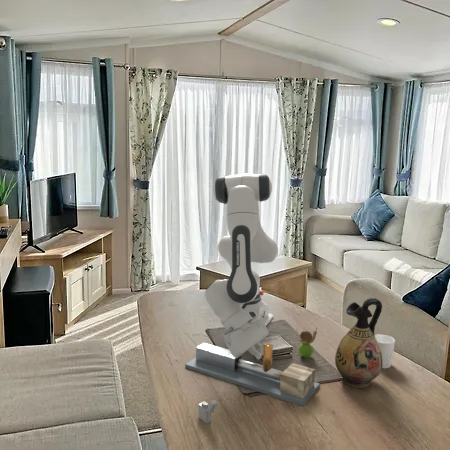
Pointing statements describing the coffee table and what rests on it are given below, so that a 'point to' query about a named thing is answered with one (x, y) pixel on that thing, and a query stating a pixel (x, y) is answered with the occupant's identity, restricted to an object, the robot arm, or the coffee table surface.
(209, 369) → the slate board
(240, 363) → the bolt with orange handle
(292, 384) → the birch socket
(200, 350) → the grey sleeve
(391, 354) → the white cup
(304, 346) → the snail figurine
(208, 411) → the lighter
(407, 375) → the coffee table surface
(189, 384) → the coffee table surface
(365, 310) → the ceramic jug
